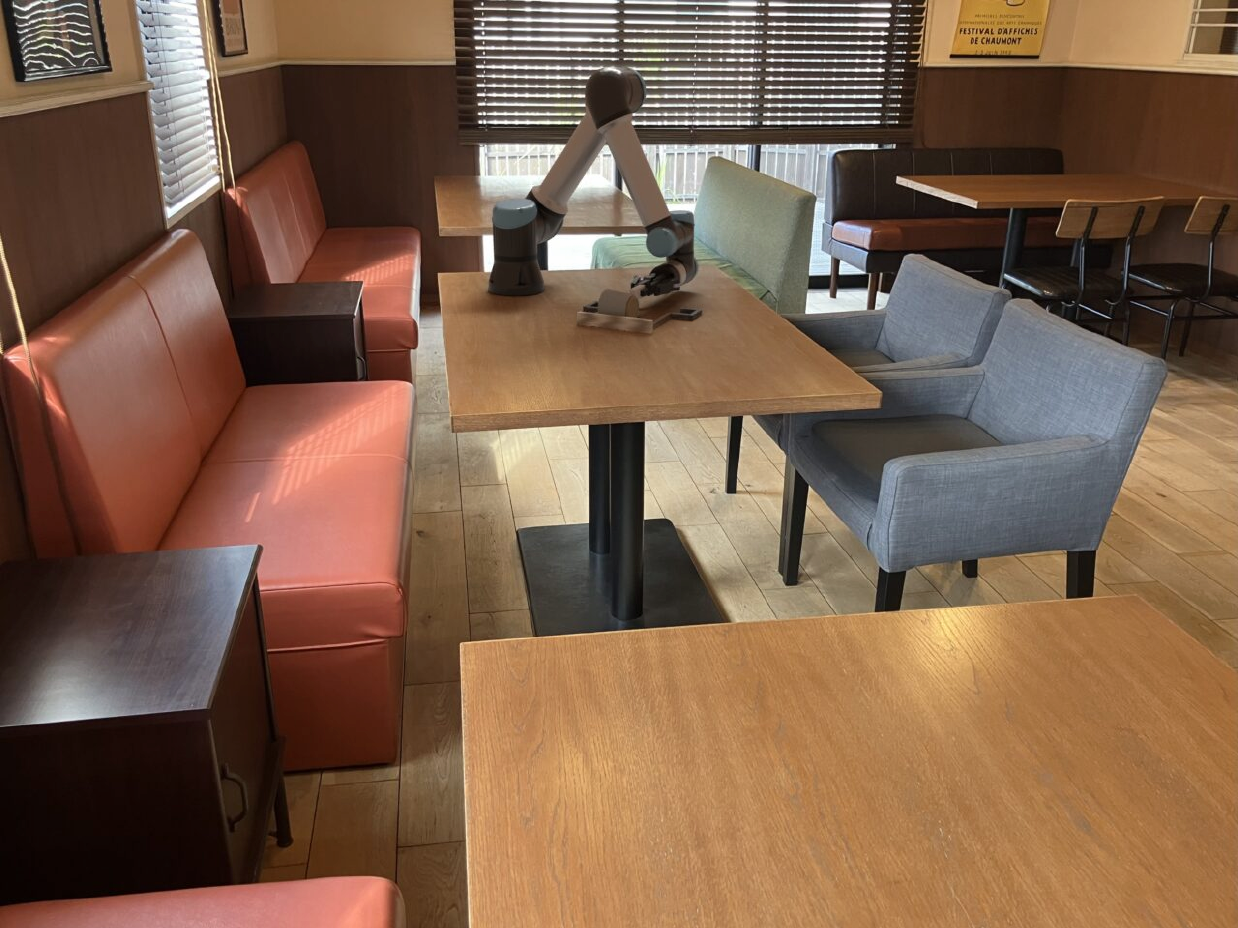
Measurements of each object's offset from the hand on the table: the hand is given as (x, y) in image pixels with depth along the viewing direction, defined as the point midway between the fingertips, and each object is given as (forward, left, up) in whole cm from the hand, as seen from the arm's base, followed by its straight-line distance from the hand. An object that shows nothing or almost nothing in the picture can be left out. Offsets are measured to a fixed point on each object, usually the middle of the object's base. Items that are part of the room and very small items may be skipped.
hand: (632, 295), depth 248 cm
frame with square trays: (0, +1, -6) cm, 6 cm away
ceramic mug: (-2, -2, -6) cm, 7 cm away
